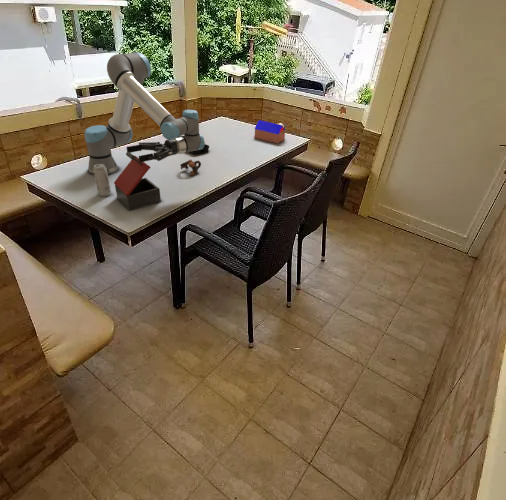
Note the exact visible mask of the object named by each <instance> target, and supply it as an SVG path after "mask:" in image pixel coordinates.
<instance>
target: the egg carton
mask: <svg viewBox="0 0 506 500" xmlns="http://www.w3.org/2000/svg"><path fill="white" fill-rule="evenodd" d="M179 137H184V135H181V136H179ZM179 137H177V138H179ZM209 149H210V145H209V144H206V143H205V145H204V147H203V148H202V149H200V150H197V151H190V152H189V153H191V154H193V155H195V156H197V155H201V154H202V153H208V152H209Z"/></svg>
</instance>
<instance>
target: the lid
mask: <svg viewBox="0 0 506 500" xmlns="http://www.w3.org/2000/svg"><path fill="white" fill-rule="evenodd" d="M125 155H126V156H127V157H128V158H129V159H130V161H129V162H128V163H127V164H126V166H125V167H124V168H123V170H122V171H121V173H120V174H119V175H118V176H117V178H116V179H115V180H114V182H113V184H114V186H115V185H116V186H117V187H118V188H119V189H120V190H121V191H123V192H124V193H125V194H126V195H127V196H129V194H130V193H131V192H132V190H133V189H134V188H135V187H136V185H137V184H138V183H139V181H140V180H141V179H142V178H144V176H145V175H146V174H147V173H148V172H149V170H150V169H151V166H150V165H148V163H146V162H139V156H136V155H134V154H132V152H131V153H130V152H127V151H126V152H125Z"/></svg>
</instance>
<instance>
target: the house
mask: <svg viewBox="0 0 506 500" xmlns="http://www.w3.org/2000/svg"><path fill="white" fill-rule="evenodd" d="M286 131H287V130H286V128H285V127H284V125H283V124H279V123H274V122H269V121H266V120H261V119H259V120H258V121H257V123H256V125H255V127H254V139H257V140H262V141H266V142H269V143H274V144H280V143H281V142H283V141H284V140H285V139H286V138H285V137H286Z"/></svg>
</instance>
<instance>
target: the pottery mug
mask: <svg viewBox="0 0 506 500" xmlns="http://www.w3.org/2000/svg"><path fill="white" fill-rule="evenodd" d="M197 164H198V165H197ZM201 166H202V162H201V161H200V160H195V161H193V160H192V159H188V160H186V161H185V162H182V163H181V164H180V169H181V170H183V169H185V170H188V169H189V168H191V169H192V170H191V171H190V172H189V173H190V175H191V176H194V175H196V174H198V173H199V169H200V168H201Z"/></svg>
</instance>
